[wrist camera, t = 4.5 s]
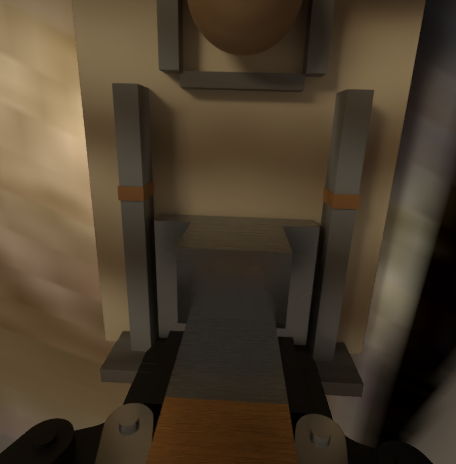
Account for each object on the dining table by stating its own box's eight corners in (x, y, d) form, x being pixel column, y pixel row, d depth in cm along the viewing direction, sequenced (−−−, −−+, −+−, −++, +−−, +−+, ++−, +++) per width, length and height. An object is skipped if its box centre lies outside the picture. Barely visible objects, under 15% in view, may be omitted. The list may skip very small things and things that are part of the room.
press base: (79, -148, 14) (-81, -414, 7) (429, -148, 13) (624, -434, 6) (118, 320, 20) (57, 415, 14) (350, 332, 20) (403, 437, 13)
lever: (160, 213, 16) (-17, 402, 5) (314, 219, 15) (470, 431, 5) (164, 323, 18) (41, 630, 7) (301, 330, 17) (394, 661, 7)
